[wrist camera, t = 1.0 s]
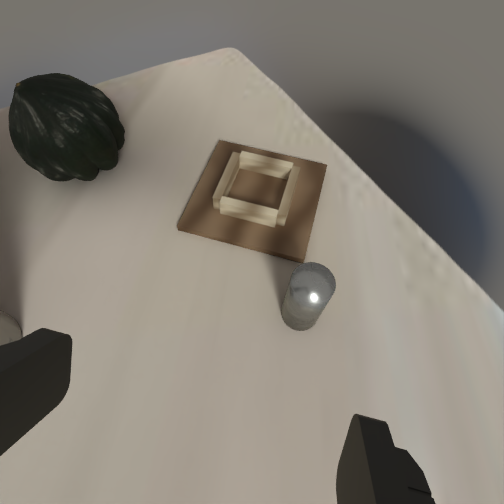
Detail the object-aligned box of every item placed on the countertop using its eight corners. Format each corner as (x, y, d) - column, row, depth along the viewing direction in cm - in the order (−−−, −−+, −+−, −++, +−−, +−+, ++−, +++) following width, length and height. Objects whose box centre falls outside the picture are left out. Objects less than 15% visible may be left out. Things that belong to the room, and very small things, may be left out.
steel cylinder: (277, 324, 40) (286, 295, 33) (285, 291, 42) (296, 257, 35) (313, 335, 40) (331, 308, 32) (320, 301, 42) (338, 268, 34)
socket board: (178, 229, 47) (173, 215, 44) (219, 144, 56) (218, 127, 53) (303, 263, 45) (307, 249, 42) (325, 169, 54) (330, 152, 51)
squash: (139, 94, 53) (35, 23, 42) (143, 164, 46) (21, 101, 35) (92, 146, 60) (-7, 97, 49) (90, 213, 53) (-26, 174, 42)
